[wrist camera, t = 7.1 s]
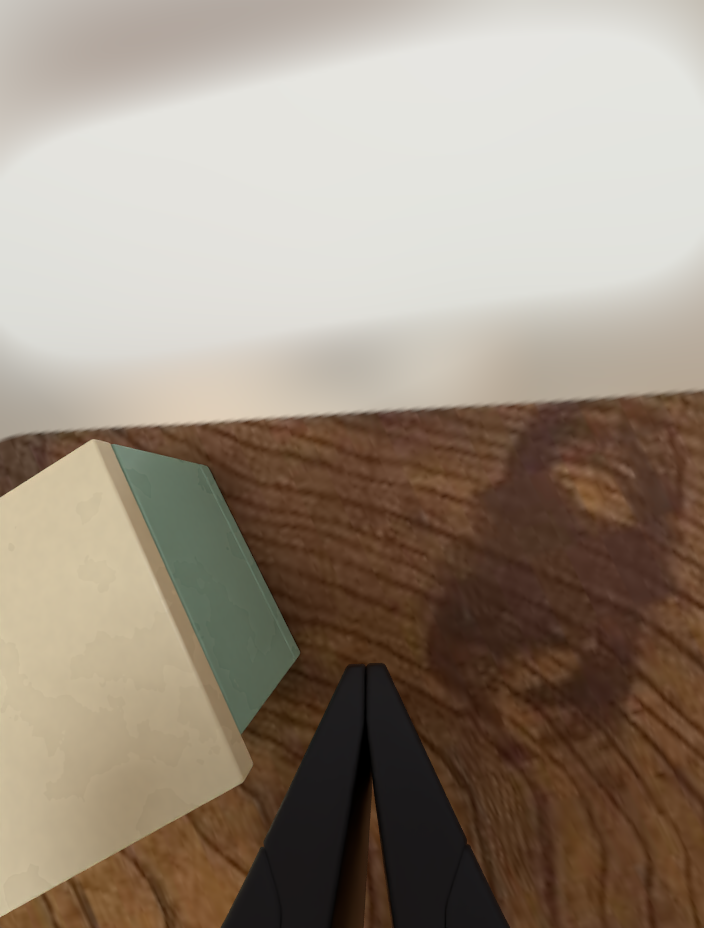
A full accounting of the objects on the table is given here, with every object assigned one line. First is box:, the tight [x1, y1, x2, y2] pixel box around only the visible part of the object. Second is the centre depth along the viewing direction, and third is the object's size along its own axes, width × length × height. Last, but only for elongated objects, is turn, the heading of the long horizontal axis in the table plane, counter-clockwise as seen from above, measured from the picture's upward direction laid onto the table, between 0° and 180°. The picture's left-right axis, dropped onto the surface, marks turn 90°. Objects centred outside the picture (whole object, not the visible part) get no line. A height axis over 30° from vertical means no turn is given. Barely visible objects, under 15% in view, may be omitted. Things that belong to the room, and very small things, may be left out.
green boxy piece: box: [111, 444, 300, 734], centre depth 14 cm, size 10×10×6 cm
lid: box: [0, 439, 253, 917], centre depth 11 cm, size 10×10×1 cm
